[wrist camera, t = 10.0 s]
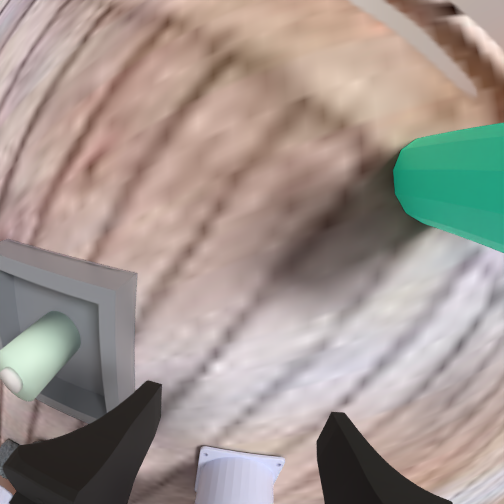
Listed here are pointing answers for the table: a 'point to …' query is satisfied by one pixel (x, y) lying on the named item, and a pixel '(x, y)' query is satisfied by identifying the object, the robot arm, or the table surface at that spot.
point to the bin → (82, 315)
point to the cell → (38, 354)
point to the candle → (456, 183)
